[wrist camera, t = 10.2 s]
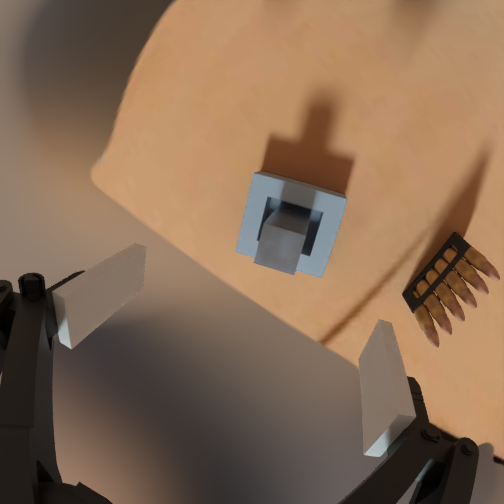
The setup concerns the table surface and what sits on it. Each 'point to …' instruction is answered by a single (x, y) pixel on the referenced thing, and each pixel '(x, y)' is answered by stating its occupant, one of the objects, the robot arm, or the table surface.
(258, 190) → the slot block
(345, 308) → the table surface
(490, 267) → the ammunition clip
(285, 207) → the steel pin
